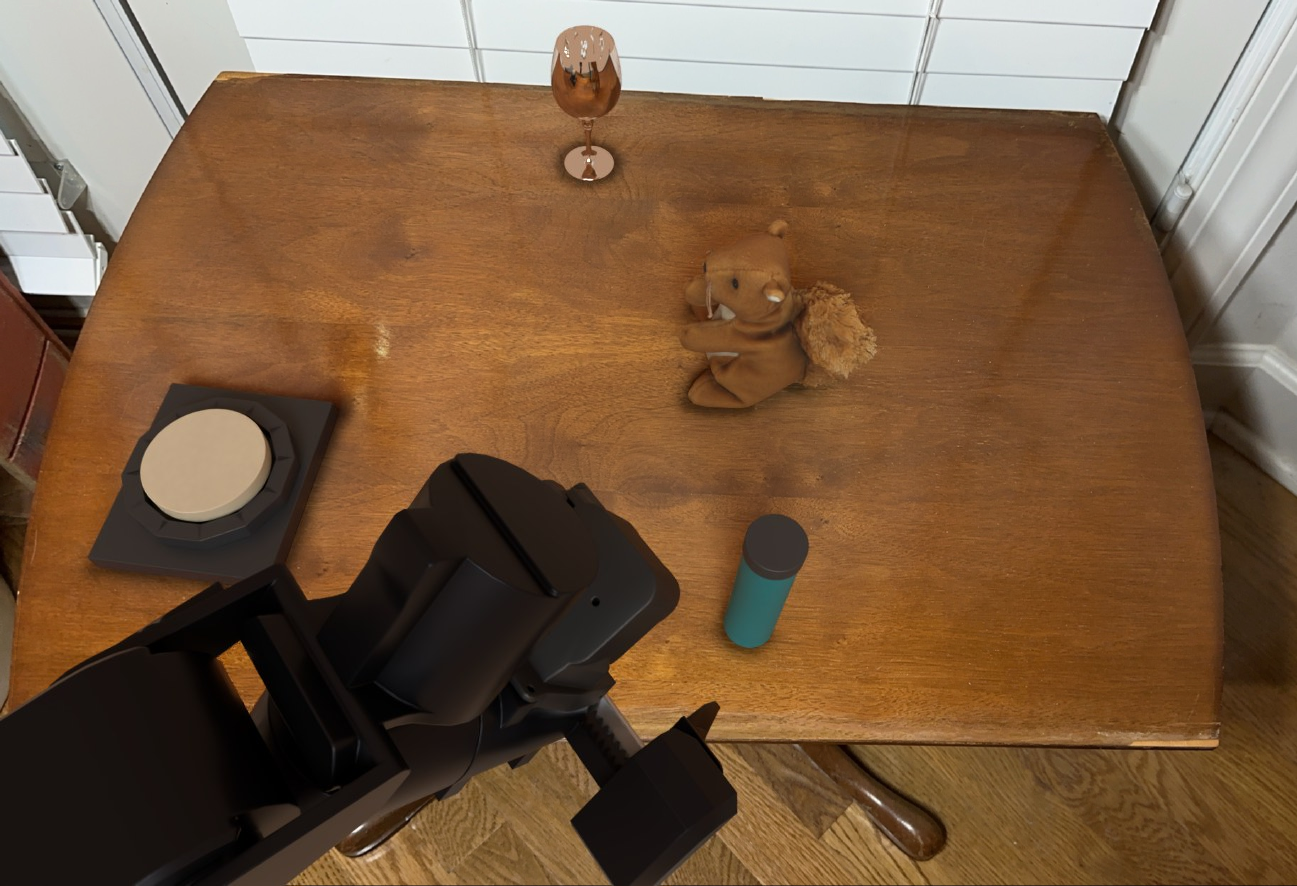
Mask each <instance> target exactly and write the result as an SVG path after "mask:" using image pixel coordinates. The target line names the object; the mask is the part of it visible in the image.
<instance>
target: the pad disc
mask: <svg viewBox="0 0 1297 886" xmlns="http://www.w3.org/2000/svg"><path fill="white" fill-rule="evenodd" d="M271 463H272V454H271V449H270V446H269V443H268V441H267V439H266V438H265V436H264V434H263V433H262V431H261V430H260V428H259V427H258V426H257V424H256V423H255V422H254V421H252V420H251V419H250V418H248V417H247V416H245V415H243V414H241V413H238V412H235V411H231V410H226V409H208V410H202V411H198V412H194V413H191V414H188V415H186V416H183V417H181V418H179V419H177V420H176V421H174V422H172V423H171V424H169V425H168V426H167V427H165V428H164V429H163V430H162V431H161V432H160V433H159V434H158V435H157V436H156V437H155V438H154V439H153V440H152V442H151V443H150V445H149V446H148V448H147V450H146V452H145V454H144V456H143V459H142V463H141V471H140V474H141V482H142V486H143V488H144V490H145V492H146V493H147V495H148V496H149V498H150V499H151V500H152V501H153V502H154V503H155V504H156V505H157V506H158V507H159V508H160V509H161V510H162V511H163V512H165V513H166V514H168V515H170V516H172V517H174V518H177V519H180V520H185V521H193V522H201V521H210V520H215V519H218V518H222V517H224V516H227V515H229V514H231V513H233V512H235V511H237V510H239V509H240V508H242V507H243V506H245V505H246V504H247V503H248V502H250V501H251V500H252V499H253V498H254V497H255V496H256V495H257V494H258V492H259V491H260V490H261V489H262V487H263V485H264V484H265V482H266V480H267V478H268V476H269V473H270V469H271Z"/></svg>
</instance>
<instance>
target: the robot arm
mask: <svg viewBox="0 0 1297 886" xmlns="http://www.w3.org/2000/svg"><path fill="white" fill-rule="evenodd" d="M680 599H681V588H680V584H679V582H678V579H677V578H676V577H675V575H674V574H673V573H672V571H671V570H670V569H669V568H668V567H667V566H666V565H665V564H664V563H663V562H662V561H661V559H660V558H659V557H658V556H657V555H656V553H655V552H654V551H653V550H652V548H651V547H650V546H649V544H647V542H646V541H645V540H644V539H643V537H642V536H641V535H640V534H639V531H638V530H637V529H636V528H635V527H634V526H633V524H632V523H630V521H628V520H627V519H626V518H623V517H621V516H619V515H618V514H616V513H614V512H613V511H611V510H608V509H607V508H606V507H605V506H604V504H603V503H602V502H601V501H600V500H599V499H598V497H597V496H596V495H595V494H594V492H593V491H592V490H591V488H590V487H589V486H588V485H587V484H586V483H585V482H584V481H581V482H578V483H576V484H574V485H573V486H572V487H570V488H569V489H566V488H565V486H564V485H563V484H562V483H560V482H558V481H555V480H554V479H540V478H539V477H537V476H536V475H534V474H532V473H531V472H529V471H528V470H526V469H524V468H523V467H521V466H518V465H516V464H514V463H513V462H510V461H508V460H505V459H502V458H499V457H496V456H492V455H489V454H484V453H477V452H458V453H456V454H455V455H454V457H453V458H451V459H448V460H445V461H443V462H441V463H439V464H438V465H437V467H436V468H435V469H434V470H433V471H432V472H431V474H430V475H429V477H428V478H427V479H426V481H425V482H424V484H423V485H422V487H421V488H420V490H419V491H418V492H417V494H416V496H414V499H412V501H411V502H410V503H409V505H408V507H407V508H402V509H400V510H399V511H397V512H396V513H394V514H393V516H392V517H391V519H390V520H389V522H388V523H387V524H386V526H385V528H384V529H383V531H382V532H381V533H380V535H379V536H378V538H377V540H376V541H375V543H374V544H373V548H372V550H371V552H370V554H369V557H368V559H367V561H366V563H365V564H364V566H363V567H362V569H361V570H360V572H359V573H358V575H357V576H356V578H355V579H354V580H353V581H352V583H351V585H350V586H349V587H348V589H347V590H346V591H345V592H342V593H337V594H334V595H332V596H331V595H329V596H325V597H318V598H312V599H308V597H307V595H306V594H305V592H304V590H303V589H302V588H301V586H300V585H299V583H298V581H297V580H296V578H295V575H294V574H293V573H292V571H291V570H290V568H289V566H288V565H287V564H286V562H285V563H277V564H274V565H272V566H270V567H268V568H266V569H264V570H262V571H260V572H258V573H256V574H254V575H252V576H250V577H248V578H246V579H244V580H242V581H240V582H238V583H236V584H234V585H229V586H228V587H227V586H226V585H225V584H222V583H221V582H219V581H218V582H216V583H214V582H213V584H211V585H210V586H208V587H206V588H204V589H203V590H201V591H200V592H198V593H197V594H195V595H193V596H192V597H190V598H188V599H187V600H185V601H183V602H182V603H180V604H179V605H177V606H176V607H174V608H172V609H170V610H169V611H168V612H166V613H164V614H163V615H160V616H159V617H158V618H156V619H154V620H153V621H151V622H149V623H148V624H146V625H145V626H143V627H141V628H140V629H138V630H137V631H135V632H133V633H132V634H130V635H129V636H127V637H125V638H123V639H122V640H120V641H119V642H117V643H116V644H114V645H112V646H109V647H107V648H106V649H104V650H102V651H100V652H98V653H96V654H94V655H92V656H90V657H88V658H86V659H84V660H82V661H81V662H79V663H77V664H76V665H74V666H73V667H71V668H69V669H67V670H66V671H65V672H63V673H62V674H61V675H59V677H58V678H57V679H55V680H54V681H53V682H52V683H50V684H49V685H48V687H46V688H45V689H43V690H42V691H41V692H39V693H37V694H36V695H34V696H33V697H31V698H30V699H28V700H26V701H25V702H23V703H22V704H20V705H18V706H16V707H15V708H14V709H12V710H10V711H9V712H7V713H6V714H4V715H2V716H1V717H0V886H287V885H288V884H289V883H291V882H292V881H293V880H294V879H295V878H297V877H298V876H299V875H300V874H302V873H304V871H306V870H307V869H308V868H309V867H310V866H312V865H313V864H314V863H316V862H317V861H318V860H319V859H321V858H322V857H323V856H325V854H327V853H328V852H329V851H330V850H332V849H334V847H336V846H337V845H339V843H341V842H342V841H343V840H344V839H346V838H347V837H349V836H350V835H351V834H353V832H355V831H356V830H357V829H359V828H360V827H361V826H362V825H363V824H365V823H367V822H368V821H371V820H373V819H376V818H379V817H381V816H382V815H385V814H388V813H390V812H392V811H394V810H397V809H399V808H402V807H404V806H406V805H409V804H411V803H413V802H416V801H418V800H421V799H423V798H425V797H427V796H430V795H434V798H436V800H437V802H438V803H440V802H442V801H444V800H446V799H449V798H451V797H454V796H456V795H458V794H459V793H460V792H461V791H462V789H463V788H464V787H465V786H466V785H467V784H468V782H469V781H471V779H472V778H473V777H475V776H478V775H480V774H482V773H485V772H487V771H490V770H492V769H495V768H497V767H499V766H502V765H504V764H506V763H507V764H508V766H509V767H510V769H511V770H515V769H518V768H520V767H522V766H524V765H527V764H529V763H530V762H531V761H532V760H533V758H534V757H535V756H536V755H537V754H538V753H539V752H540V750H541V749H542V748H544V747H546V746H549V745H552V744H553V743H557V742H558V741H560V740H561V741H562V740H563V739H565V740H566V741H567V743H568V744H569V746H570V747H571V749H572V750H573V751H574V753H575V755H576V756H577V757H578V759H579V760H580V761H581V763H582V764H583V766H584V767H585V769H586V770H587V772H588V773H589V775H590V776H591V777H592V779H593V781H594V782H595V783H596V784H597V786H598V788H599V790H598V791H596V793H595V794H594V795H593V796H592V797H591V798H590V799H589V800H588V801H587V802H586V803H585V804H584V805H583V806H582V807H581V808H580V809H579V811H578V812H577V813H576V814H575V815H574V816H573V817H571V819H570V820H569V822H570V825H571V827H572V829H573V830H574V832H575V833H576V835H577V836H578V838H579V839H580V841H581V843H582V844H583V845H584V847H585V848H586V850H587V851H588V853H589V855H590V856H591V857H592V859H593V860H594V862H595V863H596V865H597V866H598V868H599V869H600V871H601V872H602V874H603V875H604V877H605V878H606V880H607V881H608V883H609V884H610V886H661V885H662V884H663V883H664V882H666V880H667V879H668V878H669V877H670V876H672V874H673V873H675V872H676V871H677V870H678V869H679V868H680V867H681V866H682V865H683V864H684V863H685V862H687V861H688V860H689V859H690V858H691V857H692V856H693V855H694V854H695V853H697V851H698V850H699V849H701V848H702V847H703V846H704V845H705V844H706V843H707V842H708V841H709V840H710V839H711V838H712V837H714V835H716V834H717V833H718V832H719V831H720V830H721V829H723V827H724V826H725V825H726V824H727V823H728V822H730V821H731V820H732V819H733V818H734V817H735V816H736V815H737V814H739V813H738V791H737V790H736V789H735V788H734V786H733V785H732V784H731V782H730V781H729V779H727V777H726V776H725V774H724V767H723V764H722V763H721V761H720V759H719V758H718V757H717V756H716V754H715V753H714V752H713V750H712V749H711V748H710V747H709V745H708V744H707V743H706V739H707V736H708V734H709V732H710V731H711V728H712V726H713V723H714V722H715V719H717V716H718V714H719V711H720V710H721V706H720V704H719V703H718V702H717V701H716V700H713V701H710V702H706V703H704V704H703V705H701V706H700V707H698V708H697V709H696V710H695V711H693V712H692V713H691V714H689V715H688V716H687V717H686V715H682V716H681V717H680V718H679V719H678V720H677V721H676V722H675V723H674V724H673V725H672V726H671V727H670V728H669V729H668V730H666V731H664V732H662V733H659V734H658V735H657V736H656V737H655V738H653V739H652V740H650V741H649V742H648V743H647V744H645V743H644V742H643V740H642V739H641V737H640V736H639V735H638V733H637V732H636V730H635V729H634V728H633V727H632V724H630V722H629V721H628V720H627V718H626V717H625V716H624V714H623V713H622V711H621V710H620V709H619V707H618V706H617V705H616V703H615V702H614V700H612V698H611V697H610V695H609V694H608V693H609V691H610V690H611V689H612V688H613V687H614V686H615V685H616V683H617V681H616V680H615V679H614V677H613V676H612V674H611V673H610V672H609V671H610V670H611V669H610V666H611V665H613V664H614V663H616V662H617V661H618V660H619V659H621V658H622V657H623V656H624V655H625V654H626V653H627V652H628V651H629V650H631V649H632V648H633V647H634V646H635V645H636V644H637V643H638V642H639V641H640V640H641V639H642V638H644V637H645V636H646V635H647V634H648V633H649V632H650V631H652V629H654V628H655V627H656V626H657V625H659V623H661V622H662V621H664V620H666V619H667V618H668V616H671V614H672V613H673V612H674V611H675V610H676V608H677V607H678V605H679V601H680ZM239 642H240V643H241V645H242V647H243V649H244V651H245V652H246V654H247V656H248V658H249V659H250V661H251V664H252V665H253V667H254V669H255V670H256V673H257V674H258V676H259V678H260V680H261V681H262V683H263V685H264V687H265V688H264V689H263V691H262V692H261V694H260V696H259V697H258V699H257V700H256V702H255V704H254V705H253V707H252V708H251V710H250V712H249V710H248V709H247V706H246V704H245V703H244V701H243V699H242V697H241V695H240V693H239V691H238V689H237V688H236V686H235V683H234V682H233V680H232V678H231V676H230V674H229V673H228V671H227V669H226V667H225V665H224V663H223V662H222V661H221V660H220V659H218V658H219V657H220V656H222V655H223V654H224V653H226V652H227V651H228V650H230V649H231V648H232V647H234V646H235V645H236V644H238V643H239Z"/></svg>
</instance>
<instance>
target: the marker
mask: <svg viewBox="0 0 1297 886" xmlns="http://www.w3.org/2000/svg"><path fill="white" fill-rule="evenodd" d="M741 550H742V552H741V555H740V558H739V563H738V567H737V570H736V573H735V577H734V581H733V585H732V588H731V592H730V595H729V599H728V602H727V606H726V610H725V613H724V617H723V627H724V631H725V634H726V635H727V637H728V638H729V639H730V640H731V641H732V642H733V643H734V644H735V645H738V646H740V647H743V648H746V649H747V648H748V649H753V648H757V647H761V646H763V645H764V644H766V643H767V642H768V641H769V640H770V638H771V637H772V635H773V632H774V630H775V628H776V626H777V623H778V620H779V618H780V617H781V614H782V611H783V609H784V607H785V604H786V602H787V600H788V597H789V594H790V592H791V590H792V588H793V585H794V583H795V581H796V578H797V576H798V573H799V571H800V570H801V569H802V567H803V566H804V563H805V561H806V559H807V556H808V554H809V551H810V541H809V538H808V535H807V532H806V530H805V529H804V527H802V525H801V524H800V523H799V522H797V520H795V519H794V518H792V517H790V516H788V515H785V514H781V513H768V514H764V515H761V516H759V517H758V518H756V519H755V520H753V521H752V522H751V523H750V524H749V525H748V527H747V528H746V531H745V533H744V538H743V542H742V546H741Z"/></svg>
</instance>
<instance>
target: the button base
mask: <svg viewBox="0 0 1297 886" xmlns="http://www.w3.org/2000/svg"><path fill="white" fill-rule="evenodd" d="M208 409H226V410H231V411H235V412H238V413H241V414H243V415H245V416H247V417H248V418H250V419H251V420H252V421H254V422H255V423H256V424H257V426H258V427H259V428H260V430H261V431H262V433H263V434H264V436H265V438H266V439H267V441H268V443H269V446H270V449H271V454H272V463H271V469H270V473H269V476H268V478H267V480H266V482H265V484H264V485H263V487H262V489H261V490H260V491H259V492H258V494H257V495H256V496H255V497H254V498H253V499H252V500H251V501H250V502H248V503H247V504H246V505H245V506H243V507H242V508H240V509H239V510H237V511H235V512H233V513H231V514H229V515H227V516H224V517H222V518H218V519H215V520H210V521H201V522H193V521H185V520H180V519H177V518H174V517H172V516H170V515H168V514H166V513H165V512H163V511H162V510H161V509H160V508H159V507H158V506H157V505H156V504H155V503H154V502H153V501H152V500H151V499H150V498H149V496H148V495H147V493H146V492H145V490H144V488H143V486H142V482H141V474H140V471H141V463H142V459H143V456H144V454H145V452H146V450H147V448H148V446H149V445H150V443H151V442H152V440H153V439H154V438H155V437H156V436H157V435H158V434H159V433H160V432H161V431H162V430H163V429H164V428H165V427H167V426H168V425H169V424H171V423H172V422H174V421H176V420H177V419H179V418H181V417H183V416H186V415H188V414H191V413H194V412H198V411H202V410H208ZM338 416H339V412H338V411H337V408H336V406H335V404H334V402H332V401H326V400H325V401H324V400H315V399H309V398H300V397H299V398H298V397H290V396H283V395H274V394H267V393H258V392H251V391H241V390H233V389H227V388H226V389H225V388H218V387H209V386H202V385H193V384H184V383H176V382H172V383H171V384H170V386H169V388H168V390H167V392H166V395H165V396H164V398H163V400H162V402H161V404H160V406H159V408H158V411H157V413H156V415H155V417H154V419H153V421H152V423H151V425H150V427H149V429H148V430H147V431H146V432H145V433H143V434H142V435H141V436H140V437H139V438H138V440H137V442H136V443H135V445H134V447H133V450H132V452H131V454H130V456H129V458H128V460H127V461H126V464H125V466H124V468H123V470H122V473H121V474H120V476H121V484H122V485H121V487H120V489H119V491H118V493H117V495H116V498H115V500H114V501H113V503H112V505H111V507H110V509H109V512H108V514H107V515H106V518H105V520H104V522H103V524H102V527H100V531H99V533H98V535H97V537H96V539H95V540H94V543H93V544H92V547H91V549H90V551H89V553H88V556H87V559H88V560H89V561H90V562H92V563H93V564H94V565H95V566H96V567H97V568H99V569H100V568H101V569H108V570H114V571H124V572H129V573H130V572H131V573H137V574H147V575H152V576H162V577H168V578H176V579H184V580H192V581H199V582H207V583H213V584H214V583H216V582H218V581H219V582H221V583H222V584H223V585H229V586H232V585H234V584H236V583H238V582H240V581H242V580H244V579H246V578H248V577H250V576H252V575H254V574H256V573H258V572H260V571H262V570H264V569H266V568H268V567H270V566H272V565H274V564H277V563H285V564H286V560H287V558H288V555H289V552H290V549H291V547H292V543H293V541H294V538H295V535H296V532H297V530H298V527H299V524H300V521H301V519H302V516H303V514H304V511H305V508H306V504H307V502H308V499H309V497H310V494H311V491H312V488H313V485H314V484H315V480H316V477H317V474H318V471H319V469H320V466H321V463H322V461H323V457H324V456H325V452H326V449H327V447H328V444H329V441H330V439H331V435H332V433H333V430H334V427H335V424H336V422H337V419H338Z"/></svg>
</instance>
